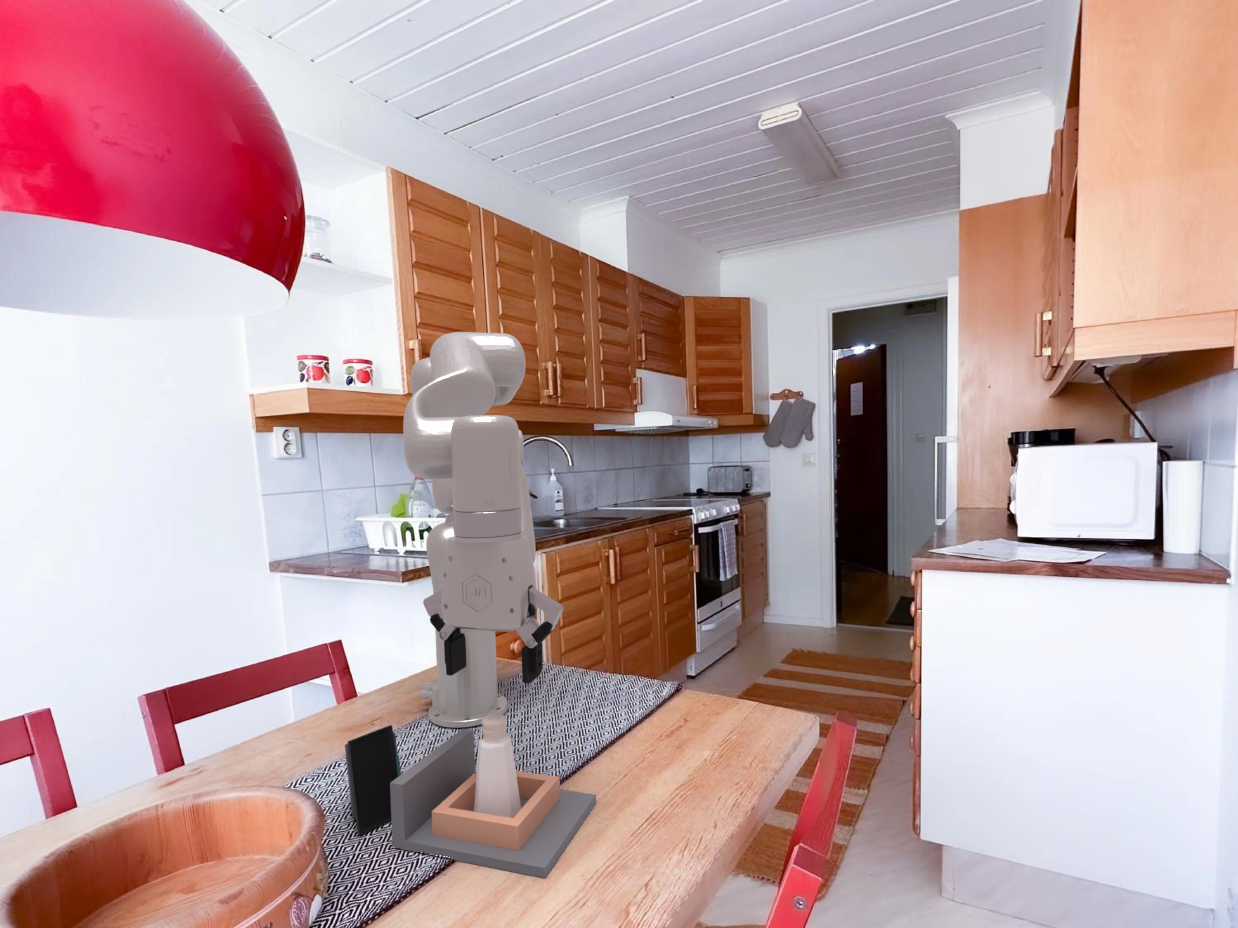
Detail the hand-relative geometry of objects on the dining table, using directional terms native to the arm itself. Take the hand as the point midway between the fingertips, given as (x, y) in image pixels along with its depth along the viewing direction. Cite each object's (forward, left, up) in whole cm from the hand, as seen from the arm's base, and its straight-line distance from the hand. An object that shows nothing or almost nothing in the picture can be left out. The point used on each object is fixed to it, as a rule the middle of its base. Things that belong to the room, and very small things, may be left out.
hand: (493, 675), depth 72 cm
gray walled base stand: (0, 0, -17) cm, 17 cm away
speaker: (-16, -2, -17) cm, 23 cm away
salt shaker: (0, 0, -16) cm, 16 cm away
